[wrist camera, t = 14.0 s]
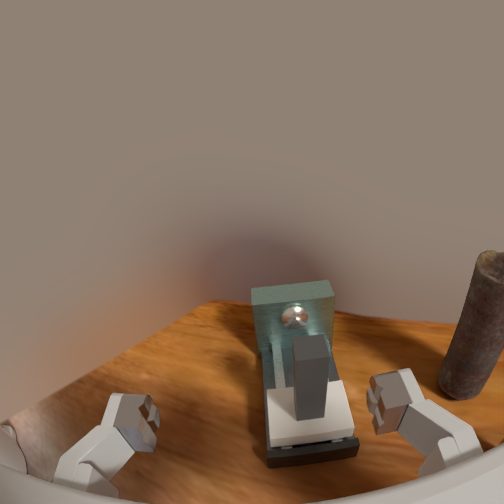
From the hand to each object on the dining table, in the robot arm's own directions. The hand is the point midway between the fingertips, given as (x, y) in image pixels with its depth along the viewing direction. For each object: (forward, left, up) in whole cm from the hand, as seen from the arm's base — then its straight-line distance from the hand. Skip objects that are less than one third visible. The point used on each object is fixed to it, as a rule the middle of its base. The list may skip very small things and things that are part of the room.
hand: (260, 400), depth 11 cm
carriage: (+4, +14, -23) cm, 27 cm away
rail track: (+4, +20, -26) cm, 33 cm away
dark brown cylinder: (+26, +15, -26) cm, 40 cm away
